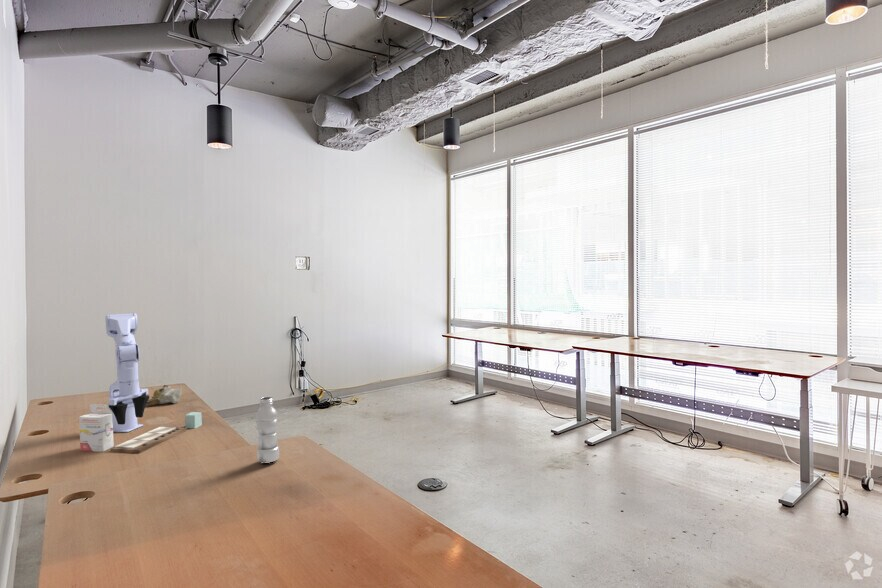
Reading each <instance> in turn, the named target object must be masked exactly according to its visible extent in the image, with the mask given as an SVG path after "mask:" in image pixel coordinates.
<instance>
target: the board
mask: <svg viewBox="0 0 882 588" xmlns="http://www.w3.org/2000/svg"><path fill="white" fill-rule="evenodd" d="M186 431H188V428H186V426H162V425H161V426H158V427H156V428H154V429H151V430H149V431H147V432H144V433H142V434H140V435H138V436H135V437H133V438H130V439H128V440H126V441H124V442H121V443H120V444H117V445H115V446H113V447H112V448H110V449H109V450H110V452H114V453H115V452H116V453H132V454H133V453H135V454H141V453H143V452H145V451H147V450H149V449H151V448H153V447H154V446H157V445H159V444H161V443H163V442H165V441H167V440H170V439H172V438H174V437H176V436H178V435H180V434H182V433H184V432H186Z"/></svg>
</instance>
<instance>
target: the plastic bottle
mask: <svg viewBox="0 0 882 588" xmlns="http://www.w3.org/2000/svg"><path fill="white" fill-rule="evenodd" d="M273 398H274V397H272V396H266V397H261V398H260V399H259V406H260V407H259V409H258V411H256V414H255V422H256V427H257V435H258V436H257V437H258V440H257V441H258V442H257V450H256V457H257V462H259V463H260V462H263V463H265V462H272V461H275V460H277V461H278V460H279V457H280V448H279V444H278V437H277V436H278V435H277V426H278V417H279V415H278V414H279V413H278V411H277V410H276V408H275V407H274V406H273V405H274V401H273ZM275 462H276V461H275Z"/></svg>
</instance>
